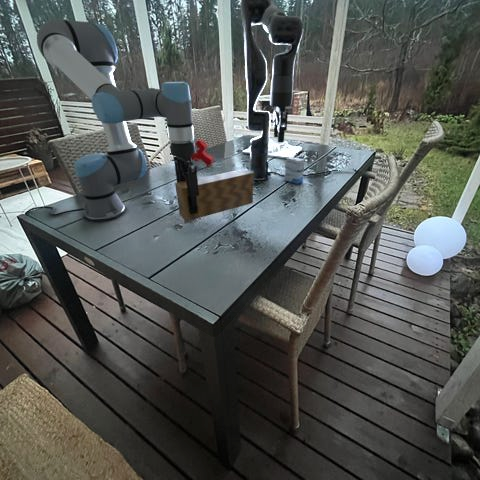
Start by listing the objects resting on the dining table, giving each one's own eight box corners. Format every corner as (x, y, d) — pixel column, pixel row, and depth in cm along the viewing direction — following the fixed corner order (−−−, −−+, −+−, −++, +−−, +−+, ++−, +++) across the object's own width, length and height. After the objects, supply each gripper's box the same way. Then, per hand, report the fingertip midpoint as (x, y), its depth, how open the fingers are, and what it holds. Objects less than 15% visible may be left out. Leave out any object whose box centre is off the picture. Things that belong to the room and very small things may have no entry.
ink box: (302, 181, 142) (305, 159, 136) (297, 184, 139) (300, 161, 133) (289, 177, 147) (291, 156, 141) (284, 180, 144) (285, 158, 138)
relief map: (291, 159, 177) (291, 151, 174) (243, 153, 190) (243, 145, 187) (302, 149, 197) (303, 142, 194) (258, 144, 211) (258, 137, 208)
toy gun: (217, 159, 165) (202, 138, 161) (214, 161, 162) (199, 139, 158) (197, 174, 175) (183, 155, 171) (194, 176, 172) (179, 156, 168)
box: (244, 197, 109) (244, 168, 102) (252, 203, 105) (253, 172, 98) (179, 214, 97) (174, 182, 90) (185, 221, 93) (181, 188, 86)
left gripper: (206, 145, 77) (211, 217, 90) (181, 133, 91) (189, 197, 103) (181, 149, 74) (190, 223, 86) (160, 136, 87) (170, 202, 100)
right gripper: (297, 92, 88) (292, 143, 96) (288, 89, 99) (284, 135, 108) (274, 92, 87) (271, 144, 96) (267, 89, 99) (265, 135, 108)
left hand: (189, 209), depth 95 cm, fingers closed on box, 6 cm apart
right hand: (278, 139), depth 102 cm, fingers open, 8 cm apart
